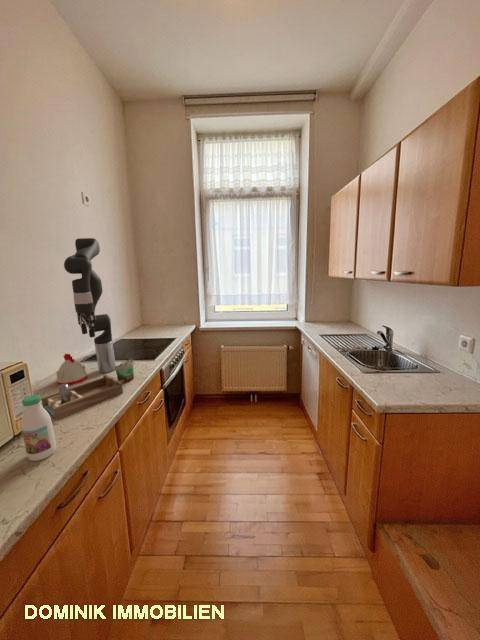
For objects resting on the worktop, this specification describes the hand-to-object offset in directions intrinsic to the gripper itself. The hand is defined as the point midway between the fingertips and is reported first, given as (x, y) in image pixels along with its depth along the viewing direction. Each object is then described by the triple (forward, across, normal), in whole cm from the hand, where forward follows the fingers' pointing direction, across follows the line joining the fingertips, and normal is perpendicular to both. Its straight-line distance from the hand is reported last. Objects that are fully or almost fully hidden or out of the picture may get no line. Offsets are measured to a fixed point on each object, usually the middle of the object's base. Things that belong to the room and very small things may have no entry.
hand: (88, 335), depth 127 cm
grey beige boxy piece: (+26, +8, -16) cm, 32 cm away
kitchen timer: (+29, -22, -3) cm, 37 cm away
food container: (+28, +4, +15) cm, 32 cm away
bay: (+28, +8, -8) cm, 30 cm away
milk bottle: (+27, +35, -32) cm, 55 cm away
